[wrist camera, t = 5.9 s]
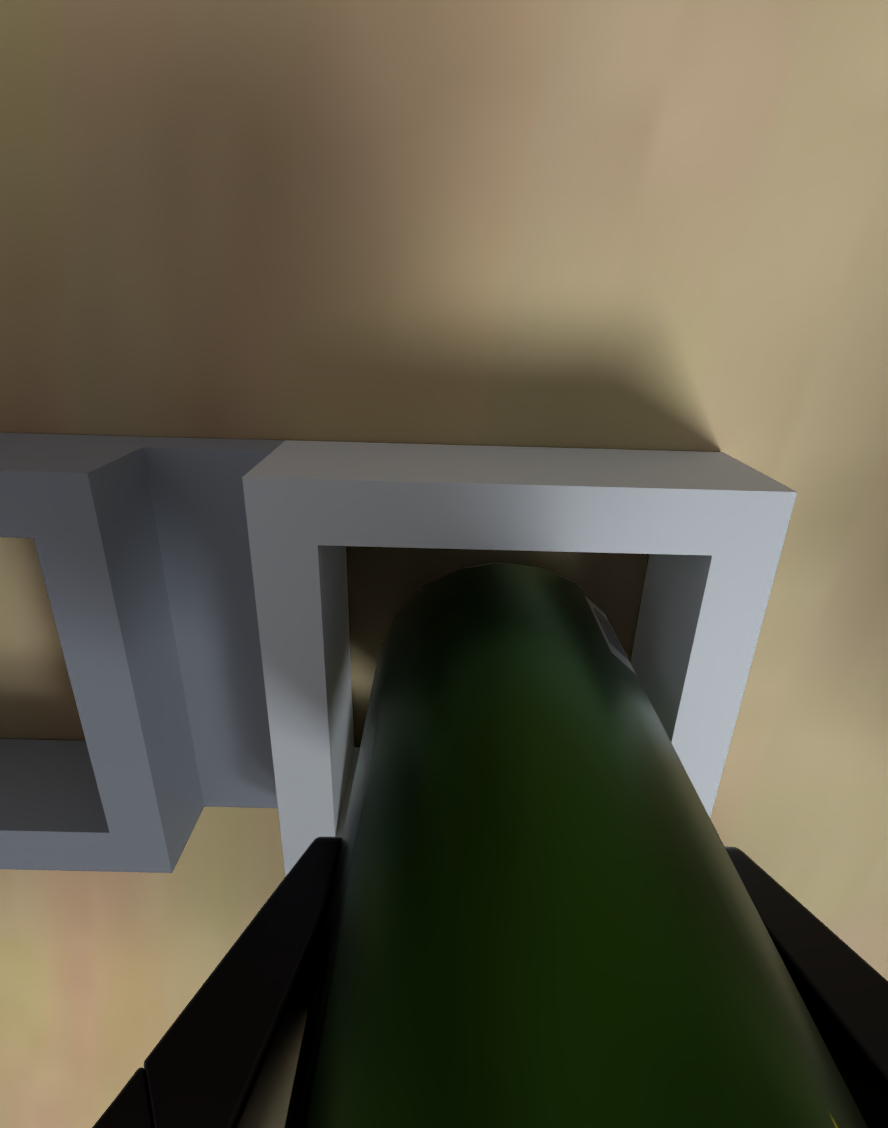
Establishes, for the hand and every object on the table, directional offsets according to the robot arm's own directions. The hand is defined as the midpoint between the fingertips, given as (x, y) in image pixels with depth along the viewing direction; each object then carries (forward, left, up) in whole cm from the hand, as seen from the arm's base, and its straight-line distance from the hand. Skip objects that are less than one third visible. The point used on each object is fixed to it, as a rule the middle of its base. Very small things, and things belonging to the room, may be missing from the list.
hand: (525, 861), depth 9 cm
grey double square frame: (+6, 0, -6) cm, 9 cm away
